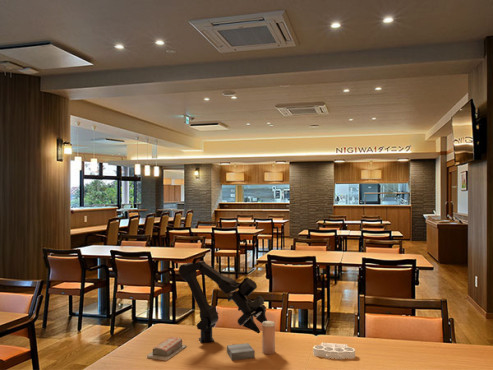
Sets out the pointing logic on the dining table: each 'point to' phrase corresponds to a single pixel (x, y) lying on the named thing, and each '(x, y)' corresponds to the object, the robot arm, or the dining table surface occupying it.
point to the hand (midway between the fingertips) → (264, 329)
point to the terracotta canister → (268, 337)
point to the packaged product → (167, 349)
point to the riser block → (240, 351)
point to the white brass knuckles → (334, 351)
